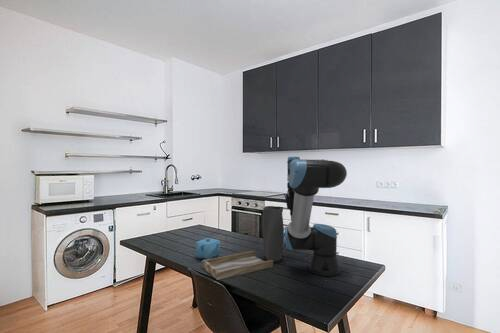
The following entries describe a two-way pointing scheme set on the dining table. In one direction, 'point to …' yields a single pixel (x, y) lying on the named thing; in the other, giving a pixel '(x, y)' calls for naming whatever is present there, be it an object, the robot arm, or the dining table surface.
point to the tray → (235, 265)
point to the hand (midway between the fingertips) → (293, 220)
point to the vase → (273, 232)
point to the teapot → (207, 248)
